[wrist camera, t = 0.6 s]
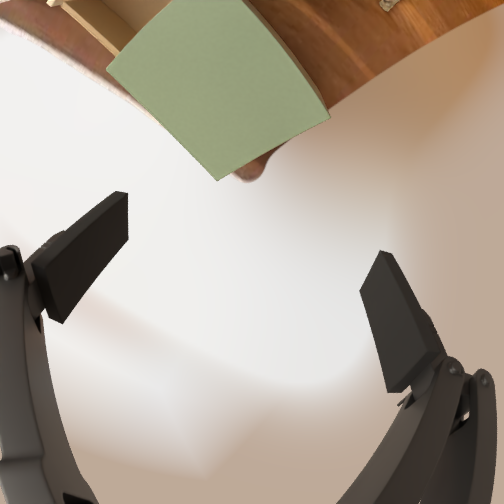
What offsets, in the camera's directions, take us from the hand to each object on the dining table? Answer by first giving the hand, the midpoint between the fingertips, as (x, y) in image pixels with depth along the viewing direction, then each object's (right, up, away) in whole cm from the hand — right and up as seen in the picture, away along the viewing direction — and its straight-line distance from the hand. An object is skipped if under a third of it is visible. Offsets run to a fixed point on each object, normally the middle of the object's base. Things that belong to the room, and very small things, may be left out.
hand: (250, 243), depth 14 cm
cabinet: (-3, +23, +15) cm, 28 cm away
